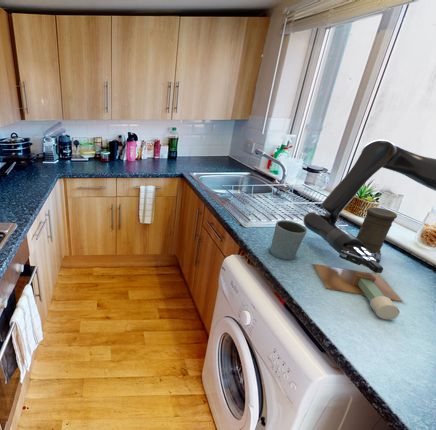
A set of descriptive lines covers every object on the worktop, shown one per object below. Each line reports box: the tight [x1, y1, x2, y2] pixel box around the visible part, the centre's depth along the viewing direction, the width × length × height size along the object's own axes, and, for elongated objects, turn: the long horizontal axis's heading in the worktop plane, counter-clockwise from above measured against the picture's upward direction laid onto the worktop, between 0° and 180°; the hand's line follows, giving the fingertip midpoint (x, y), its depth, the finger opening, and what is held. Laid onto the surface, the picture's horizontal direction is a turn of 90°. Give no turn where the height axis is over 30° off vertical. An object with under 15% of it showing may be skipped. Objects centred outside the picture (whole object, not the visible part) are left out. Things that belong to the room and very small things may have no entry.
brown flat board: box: [312, 263, 403, 303], centre depth 96 cm, size 20×14×1 cm
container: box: [355, 207, 398, 254], centre depth 109 cm, size 9×9×18 cm
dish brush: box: [351, 272, 400, 320], centre depth 86 cm, size 5×5×16 cm
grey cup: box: [269, 219, 308, 260], centre depth 108 cm, size 10×10×12 cm
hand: (379, 270), depth 87 cm, fingers closed
